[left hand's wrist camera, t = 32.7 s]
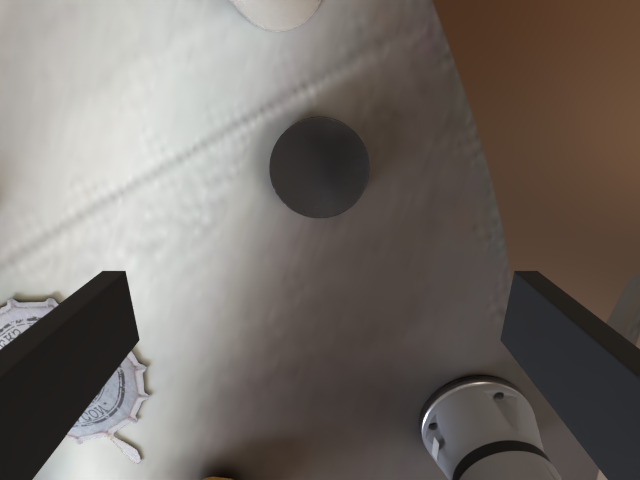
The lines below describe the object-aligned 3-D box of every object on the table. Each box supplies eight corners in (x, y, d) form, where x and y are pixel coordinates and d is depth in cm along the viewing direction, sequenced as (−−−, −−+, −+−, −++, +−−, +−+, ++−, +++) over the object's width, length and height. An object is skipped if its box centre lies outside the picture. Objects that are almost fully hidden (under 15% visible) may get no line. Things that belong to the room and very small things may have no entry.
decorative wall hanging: (-79, 338, 47) (69, 486, 57) (-81, 340, 47) (67, 488, 56) (76, 268, 43) (204, 439, 53) (74, 269, 43) (204, 441, 53)
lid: (378, 129, 38) (381, 130, 36) (354, 221, 42) (355, 226, 40) (281, 106, 37) (278, 107, 35) (265, 202, 41) (262, 207, 39)
